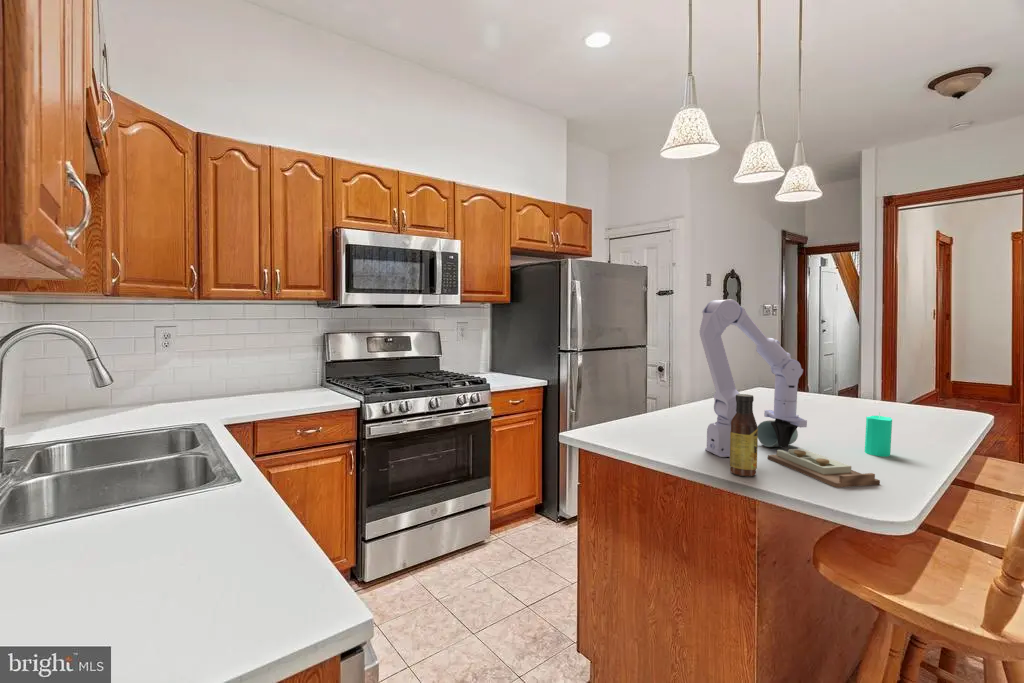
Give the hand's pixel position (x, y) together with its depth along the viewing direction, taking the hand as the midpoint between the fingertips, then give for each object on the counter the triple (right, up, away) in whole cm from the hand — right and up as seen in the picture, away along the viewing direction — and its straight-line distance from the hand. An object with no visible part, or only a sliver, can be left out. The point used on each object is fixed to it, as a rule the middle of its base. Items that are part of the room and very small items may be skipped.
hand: (783, 446), depth 145 cm
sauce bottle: (-20, -3, -19) cm, 28 cm away
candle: (+27, -2, 0) cm, 27 cm away
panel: (0, -2, -14) cm, 14 cm away
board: (+1, -3, -16) cm, 16 cm away
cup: (+7, +2, +9) cm, 12 cm away
